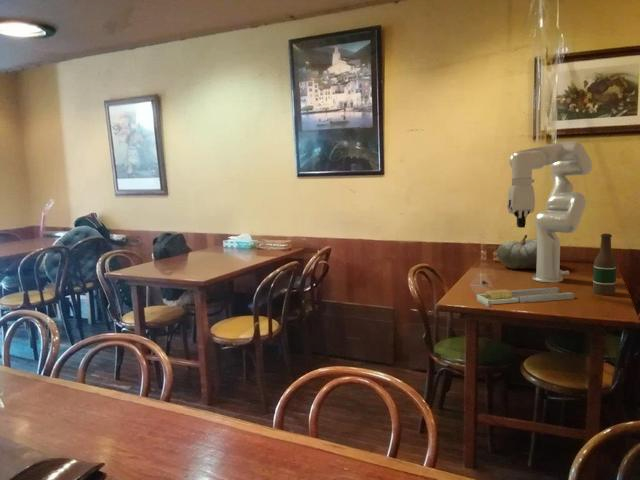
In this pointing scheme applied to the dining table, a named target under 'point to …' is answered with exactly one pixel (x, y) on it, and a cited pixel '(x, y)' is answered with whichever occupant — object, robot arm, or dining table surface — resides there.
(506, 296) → the chip
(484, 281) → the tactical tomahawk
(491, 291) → the chip
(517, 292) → the slot board
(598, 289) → the beer bottle
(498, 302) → the tray
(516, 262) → the gourd
